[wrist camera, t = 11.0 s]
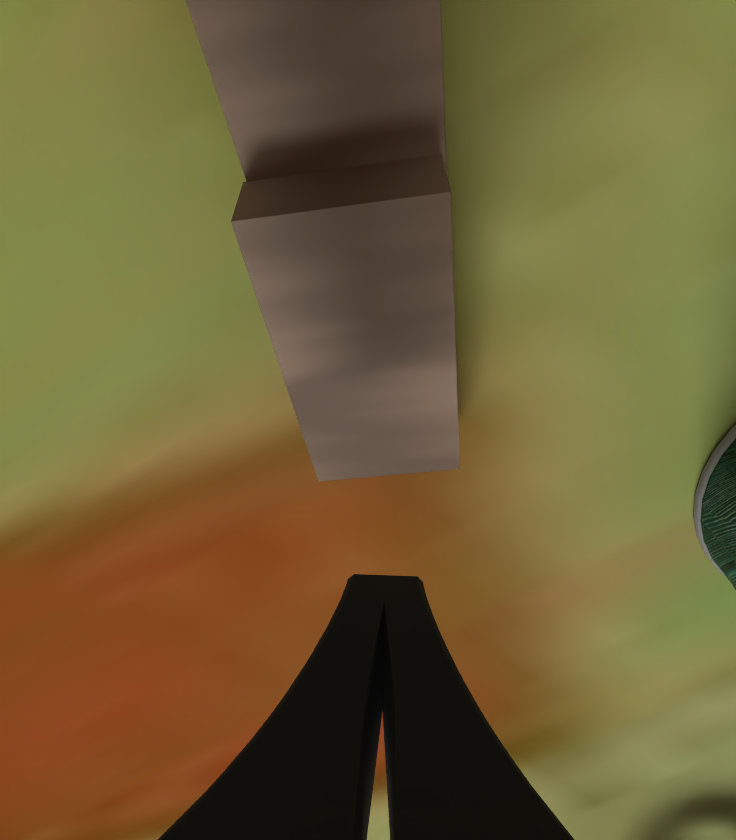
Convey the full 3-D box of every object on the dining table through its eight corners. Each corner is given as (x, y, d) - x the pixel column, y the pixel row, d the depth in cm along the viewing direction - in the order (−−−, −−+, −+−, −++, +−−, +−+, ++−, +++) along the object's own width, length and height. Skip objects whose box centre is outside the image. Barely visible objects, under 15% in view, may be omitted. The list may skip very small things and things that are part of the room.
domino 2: (318, 481, 16) (230, 221, 10) (321, 438, 17) (243, 181, 12) (460, 468, 16) (450, 191, 10) (453, 426, 17) (441, 154, 11)
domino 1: (292, 317, 15) (154, -93, 8) (296, 276, 15) (174, -120, 9) (450, 298, 14) (435, -149, 8) (444, 257, 15) (425, -170, 9)
